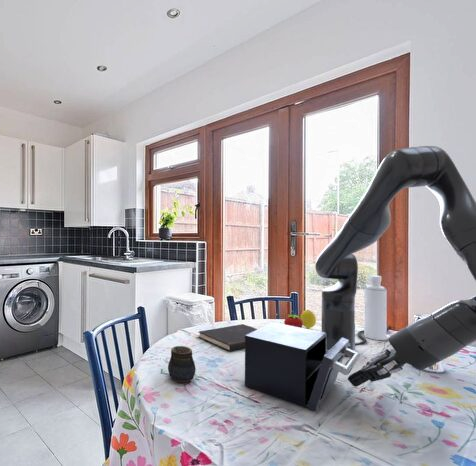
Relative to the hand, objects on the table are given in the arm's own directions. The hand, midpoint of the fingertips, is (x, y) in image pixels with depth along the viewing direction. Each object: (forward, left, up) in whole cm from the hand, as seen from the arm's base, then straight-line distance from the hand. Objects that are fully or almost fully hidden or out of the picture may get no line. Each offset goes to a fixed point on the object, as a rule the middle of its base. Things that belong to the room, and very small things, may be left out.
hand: (351, 381), depth 72 cm
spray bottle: (-61, -23, -5) cm, 65 cm away
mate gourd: (+27, -27, -5) cm, 39 cm away
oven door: (+1, -4, -6) cm, 7 cm away
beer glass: (-43, -1, -5) cm, 43 cm away
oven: (+4, -13, -5) cm, 15 cm away
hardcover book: (-11, -44, -5) cm, 46 cm away
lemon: (-48, -41, -5) cm, 63 cm away
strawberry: (-33, -37, -5) cm, 50 cm away
